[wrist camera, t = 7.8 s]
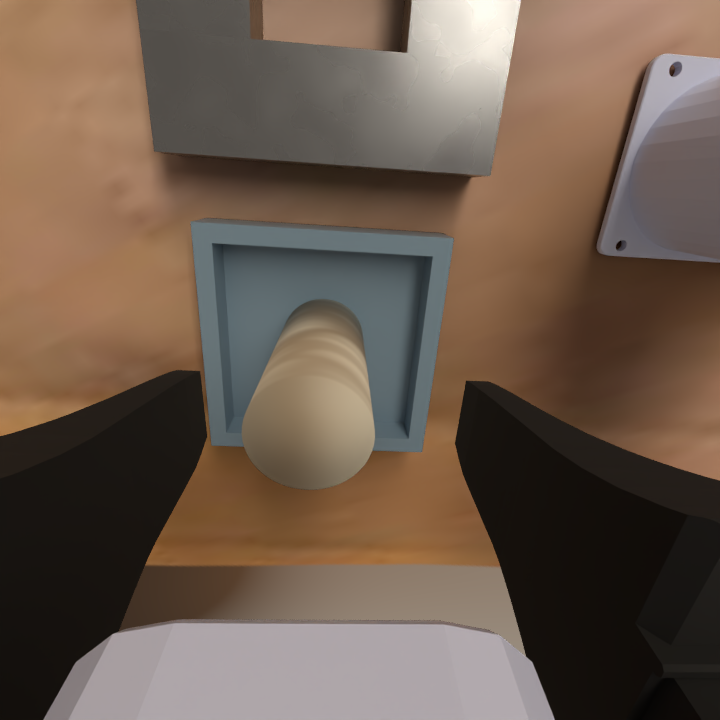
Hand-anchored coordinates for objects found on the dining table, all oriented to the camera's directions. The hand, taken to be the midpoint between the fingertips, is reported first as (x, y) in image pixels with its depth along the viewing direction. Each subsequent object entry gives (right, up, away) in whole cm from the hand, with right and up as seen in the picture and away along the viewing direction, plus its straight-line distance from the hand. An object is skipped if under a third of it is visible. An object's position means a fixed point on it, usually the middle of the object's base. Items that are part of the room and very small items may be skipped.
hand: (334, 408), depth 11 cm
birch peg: (-1, +2, +9) cm, 10 cm away
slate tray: (-1, +3, +10) cm, 10 cm away
